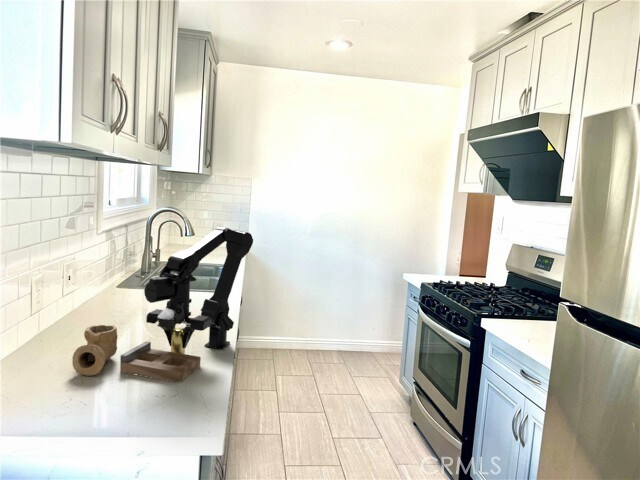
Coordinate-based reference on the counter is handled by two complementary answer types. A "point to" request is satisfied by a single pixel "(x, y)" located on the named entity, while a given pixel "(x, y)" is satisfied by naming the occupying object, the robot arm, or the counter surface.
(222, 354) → the counter surface
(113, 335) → the pipe
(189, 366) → the jig
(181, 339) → the brass cylinder rod
